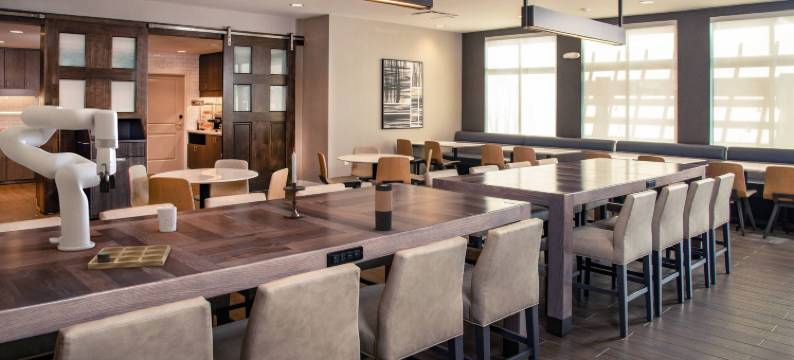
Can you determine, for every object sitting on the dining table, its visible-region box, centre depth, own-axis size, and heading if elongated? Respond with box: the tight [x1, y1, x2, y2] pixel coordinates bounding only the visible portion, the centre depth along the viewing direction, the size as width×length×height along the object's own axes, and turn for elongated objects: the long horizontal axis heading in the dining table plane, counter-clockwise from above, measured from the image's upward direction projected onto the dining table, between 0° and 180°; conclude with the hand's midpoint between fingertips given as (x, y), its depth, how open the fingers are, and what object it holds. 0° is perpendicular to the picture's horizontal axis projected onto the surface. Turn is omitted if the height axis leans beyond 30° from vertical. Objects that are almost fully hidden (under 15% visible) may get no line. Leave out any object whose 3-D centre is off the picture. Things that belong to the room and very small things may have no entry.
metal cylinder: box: [96, 251, 110, 263], centre depth 212 cm, size 4×4×4 cm
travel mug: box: [374, 183, 393, 232], centre depth 276 cm, size 8×8×20 cm
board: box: [87, 244, 171, 270], centre depth 222 cm, size 24×24×2 cm
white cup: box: [156, 205, 178, 233], centre depth 269 cm, size 8×8×10 cm
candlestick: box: [282, 145, 307, 220], centre depth 302 cm, size 11×11×35 cm
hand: (108, 190), depth 230 cm, fingers open, 9 cm apart
